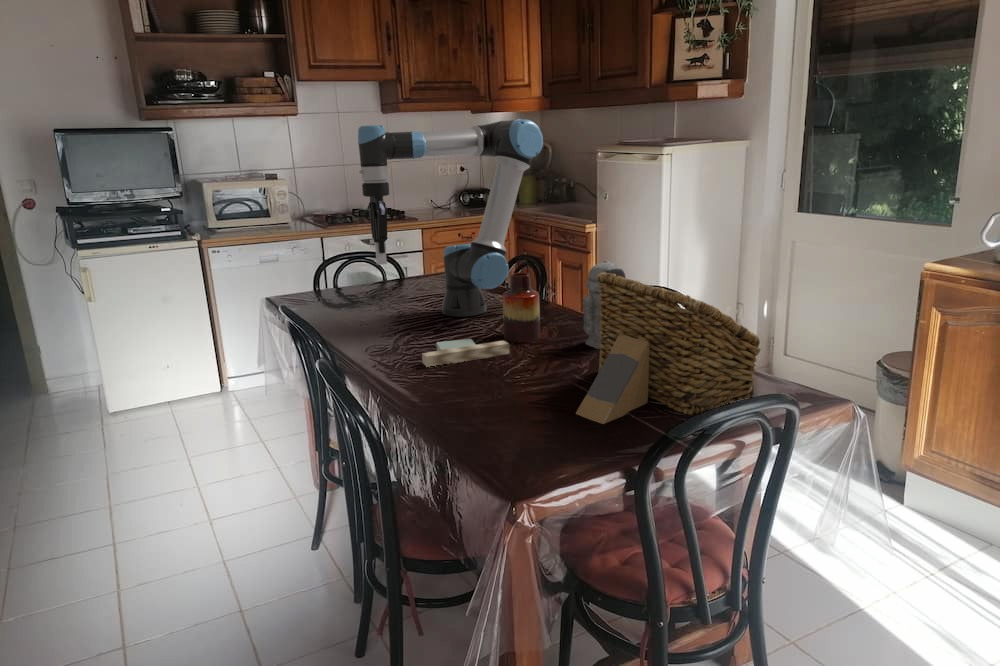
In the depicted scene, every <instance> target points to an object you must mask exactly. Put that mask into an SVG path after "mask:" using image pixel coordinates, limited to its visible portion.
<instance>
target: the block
mask: <svg viewBox="0 0 1000 666" xmlns="http://www.w3.org/2000/svg"><path fill="white" fill-rule="evenodd" d="M472 345H477V344H476V343H475V342H474V340H473V339H472V338H466V339H465V338H464V339H454V340H445V341H437V342H436V351H440V350H446V349H453V348H459V347H465V346H472Z"/></svg>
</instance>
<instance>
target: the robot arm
mask: <svg viewBox="0 0 1000 666" xmlns="http://www.w3.org/2000/svg"><path fill="white" fill-rule="evenodd" d="M539 127H540V126H538V124H536V123H535V122H534V121H532V120H530V119H523V118H518V119H511V120H500V121H496V122H495V121H494V122H492V123H491V122H490V123H487V124H486V123H485V124H482V125H473V126H471V128H470V129H469V128H468V129H467V128H466V129H448V130H429V131H399V132H398V131H397V132H396V131H395V132H386V129H385V126H384V125H381V124H380V125H378V124H377V125H376V124H375V125H373V124H372V125H361V126H360V127H359V128H358V131H357V132H358V133H357V144H358V150H359V151H358V152H359V160H360V161H359V162H360V170H359V172H358V173H359V175H360V176H361V181H362V182H363V183H362V185H361V188H362V195H363V196H364V197H367V198H368V197H369V202H368V205H367V210H368V213H369V214H368V215H369V223H370V230H371V237H372V239H373V242H374V248H375V249H374V250H375V260H376V265H379V266H381V265H387V264H388V259H387V246H386V241H387V240H388V207H387V206H386V202H385V201H384V196H385V197H386V196H389V195H390V183H389V182H387V181H388V180H390V179H389V167H388V160H410V159H411V160H415V159H420V158H423V157H431V156H432V157H434V156H436V157H437V156H450V155H465V154H466V155H467V154H472V155H473V156H475V157H481V156H483V157H493V158H494V161H495V162H496V169H495V172H494V175H493V176H494V177H493V179H492V182H491V187H490V191H489V194H488V198H487V203H486V205H485V209H484V213H483V218H482V221H481V224H480V228H479V232H478V235H477V237H476V238H475V239H473V240H471V242H470V243H463V244H454V245H448V246H445V247H444V249H443V257H442V258H443V264H444V265H443V266H444V268H443V269H444V277H445V279H444V281H445V282H444V284H445V293H444V296H443V300H442V303H441V313H442V315H445V316H448V317H459V318H461V317H473V316H478V315H482V314H484V313H486V312H487V303H486V301H485V298H484V295H483V293H482V290H481V289H483V290H484V289H486V290H492V289H495V288H498V287H499V286H500V285H502V284H503V283H504V281H505V280H506V279H507V276H508V273H509V263H508V261H507V258H506V255H507V253H508V252H507V251H508V250H507V248H506V246H505V240H506V238H507V234H508V230H509V226H510V222H511V219H512V215H513V212H514V207H515V205H516V201H517V197H518V193H519V190H520V185H521V181H522V180H523V179H522V178H523V175H524V172H525V171H526V170H528V169H530V167H531V165H532V163H531V162H532V160H533V158H535V157H536V156H538V155H539V154H540V153H541V151H542V149H543V145H544V137H543V133H542V131H541V129H540V128H539Z"/></svg>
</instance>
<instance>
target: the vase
mask: <svg viewBox="0 0 1000 666" xmlns="http://www.w3.org/2000/svg"><path fill="white" fill-rule="evenodd" d="M530 275H531V274H530V273H528V272H515V273H511V274H510V285H509V286H510V287H509V288H510V289H509V290H507V291H505V292H503V294H502V319H503V320H502V321H503V322H502V323H503V339H504V341H506V342H507V341H508V342H510V343H511V342H512V343H520V344H521V343H530V342H531V343H532V342H535V341H538V340H540V339H541V316H540V315H541V314H540V312H541V310H540V294H539V292H538V291H537V290H534V289H532V286H531V278H530Z"/></svg>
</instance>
